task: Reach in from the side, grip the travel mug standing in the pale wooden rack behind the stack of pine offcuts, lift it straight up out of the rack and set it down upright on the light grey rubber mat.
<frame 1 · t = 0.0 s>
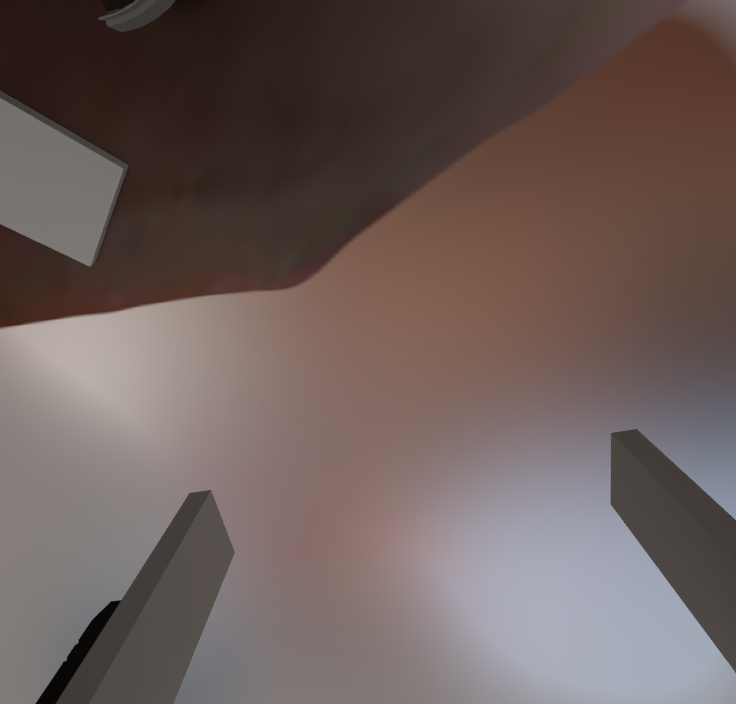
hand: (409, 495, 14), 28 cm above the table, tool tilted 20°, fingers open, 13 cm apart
mat: (45, 181, 34), on the table
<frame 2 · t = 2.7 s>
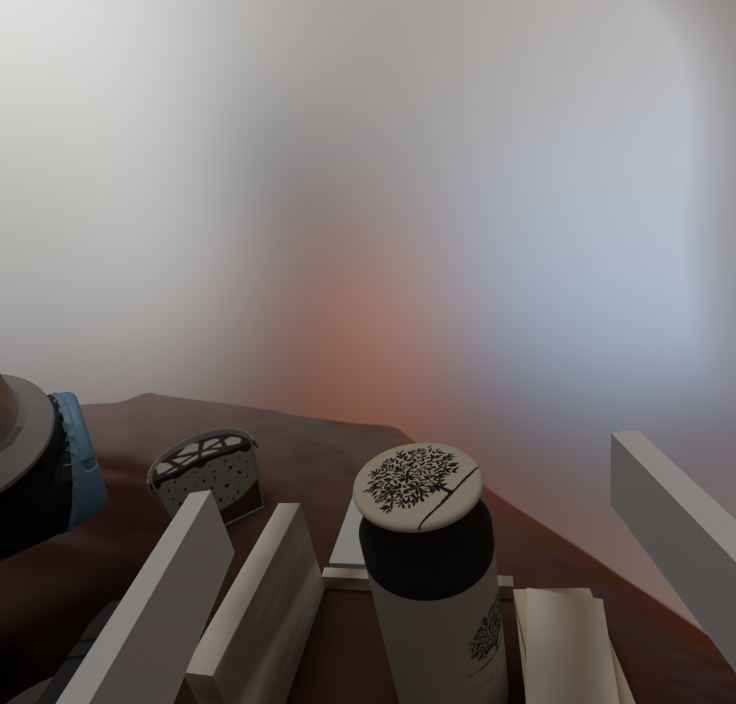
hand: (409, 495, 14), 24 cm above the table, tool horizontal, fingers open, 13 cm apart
mat: (389, 532, 45), on the table
food container: (223, 512, 54), on the table
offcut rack: (451, 682, 31), on the table
travel mug: (451, 684, 31), resting in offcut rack
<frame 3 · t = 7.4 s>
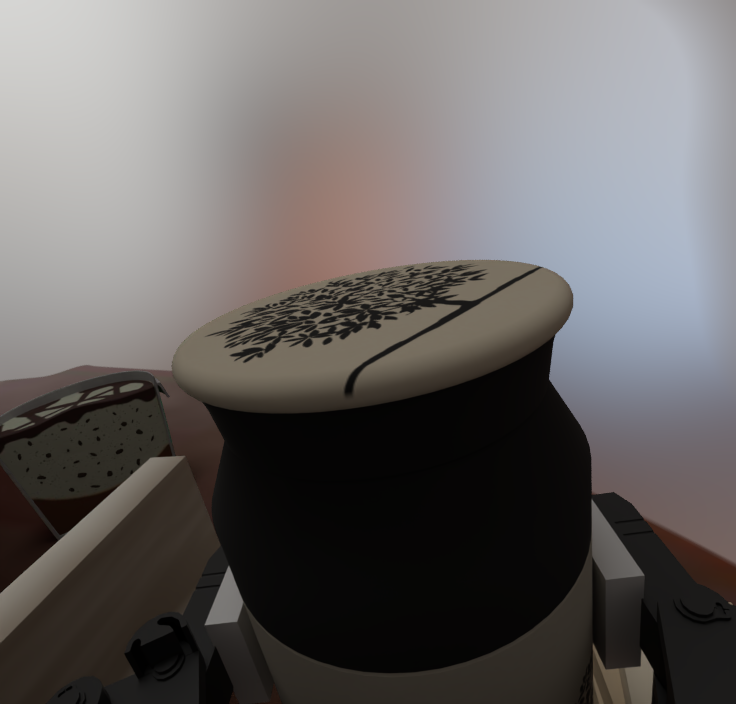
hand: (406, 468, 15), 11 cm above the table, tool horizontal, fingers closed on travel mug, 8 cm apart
food container: (124, 494, 37), on the table
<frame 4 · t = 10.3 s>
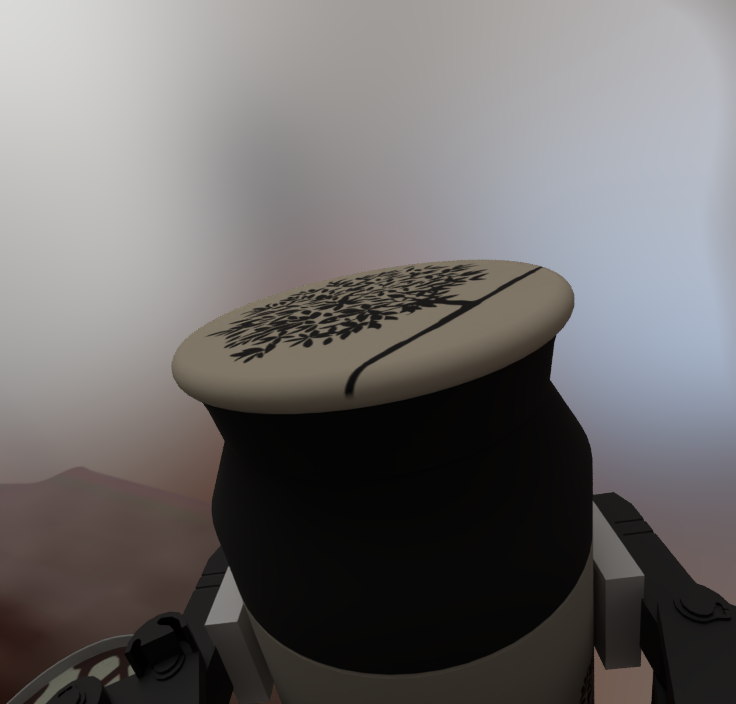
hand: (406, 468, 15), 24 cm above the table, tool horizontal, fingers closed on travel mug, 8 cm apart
when the fingers open (13 cm above the table, at t = 13.4 s): travel mug drops 1 cm, resting on mat.
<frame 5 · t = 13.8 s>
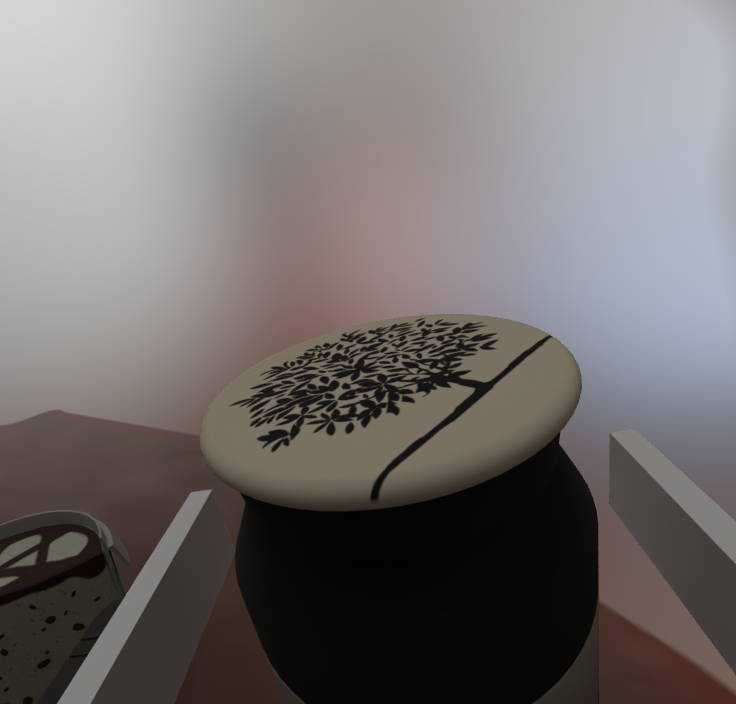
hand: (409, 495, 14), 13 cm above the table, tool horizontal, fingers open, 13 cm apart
food container: (64, 698, 24), on the table
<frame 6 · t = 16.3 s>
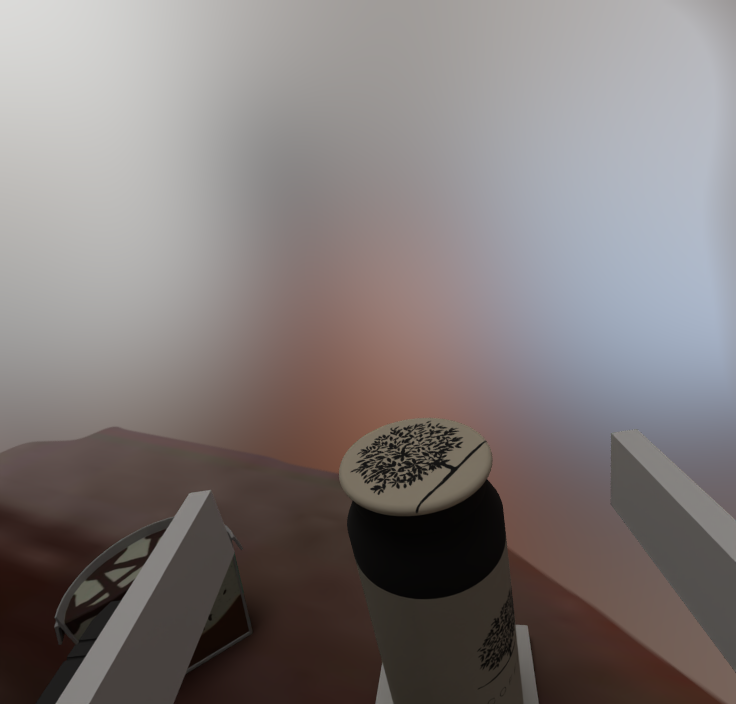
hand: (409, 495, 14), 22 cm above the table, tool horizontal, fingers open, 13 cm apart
food container: (190, 639, 36), on the table
travel mug: (457, 697, 27), point 1 cm above the table, touching mat
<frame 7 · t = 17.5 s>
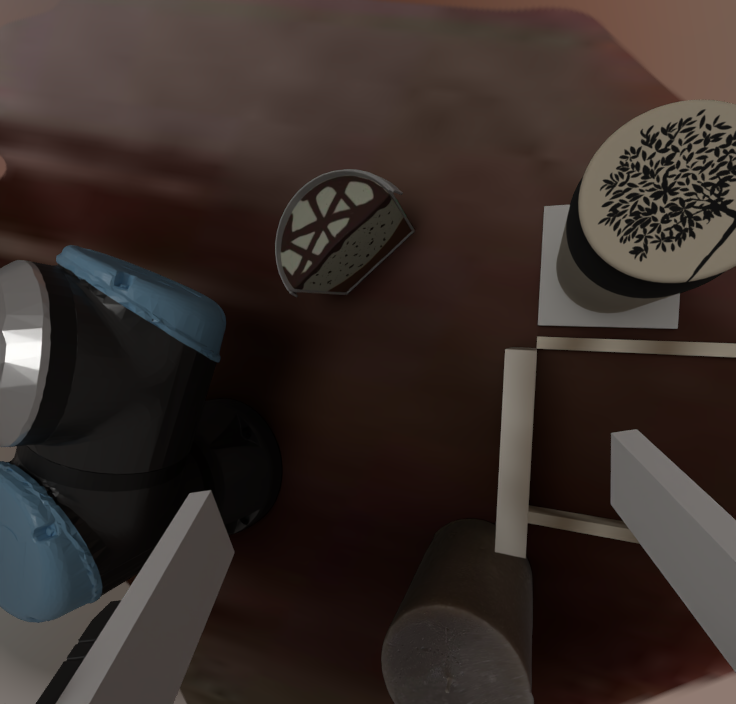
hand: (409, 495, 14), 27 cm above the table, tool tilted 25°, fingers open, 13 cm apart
mat: (605, 266, 35), on the table
food container: (362, 242, 43), on the table
pillar candle: (478, 569, 40), on the table
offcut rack: (696, 444, 33), on the table
travel mug: (609, 264, 35), point 1 cm above the table, touching mat
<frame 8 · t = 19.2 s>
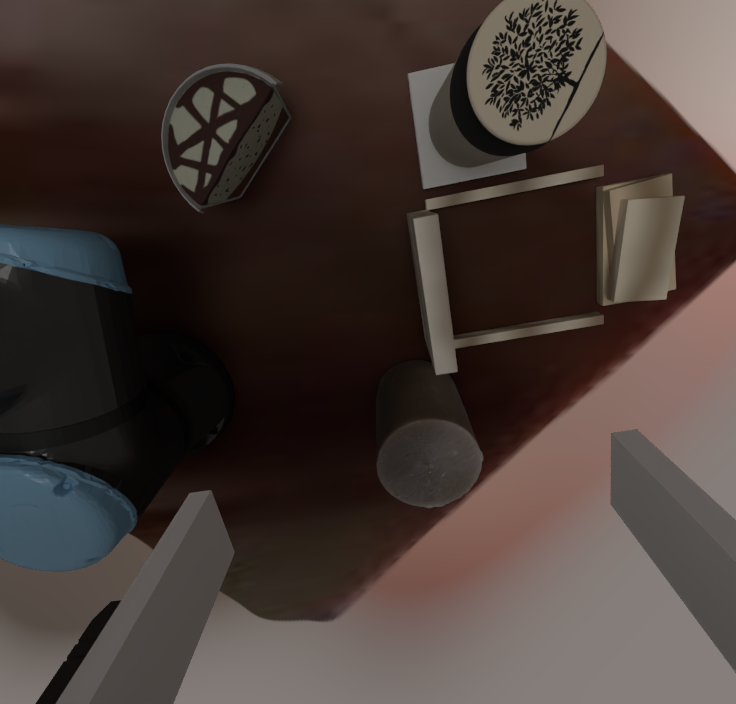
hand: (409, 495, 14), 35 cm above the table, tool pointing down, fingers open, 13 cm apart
mat: (467, 124, 41), on the table
food container: (240, 138, 42), on the table
pillar candle: (416, 396, 51), on the table
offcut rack: (547, 256, 45), on the table
travel mug: (470, 122, 40), point 1 cm above the table, touching mat
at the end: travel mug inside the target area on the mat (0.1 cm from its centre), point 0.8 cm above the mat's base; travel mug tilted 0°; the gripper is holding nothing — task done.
